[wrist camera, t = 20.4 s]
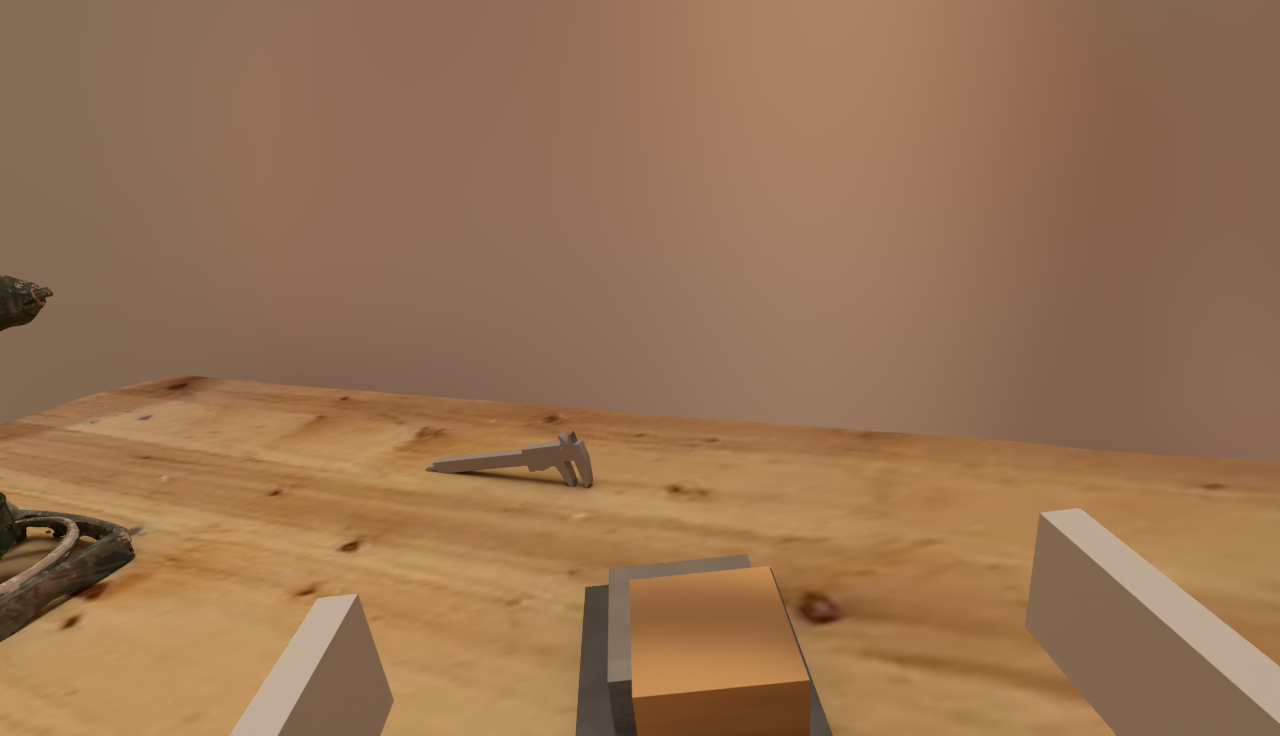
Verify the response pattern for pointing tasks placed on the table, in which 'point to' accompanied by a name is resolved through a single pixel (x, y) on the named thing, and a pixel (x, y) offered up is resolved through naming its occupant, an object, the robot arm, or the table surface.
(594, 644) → the socket board
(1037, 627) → the robot arm
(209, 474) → the table surface
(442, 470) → the caliper
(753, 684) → the peg
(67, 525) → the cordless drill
